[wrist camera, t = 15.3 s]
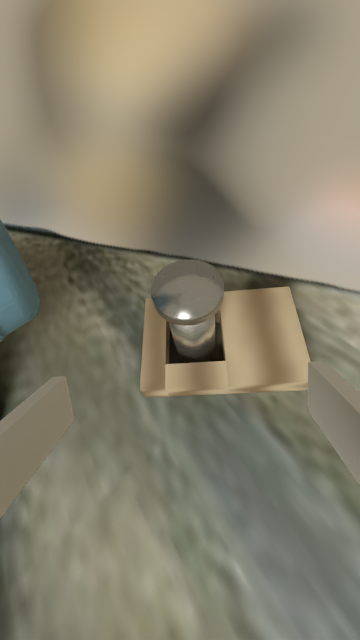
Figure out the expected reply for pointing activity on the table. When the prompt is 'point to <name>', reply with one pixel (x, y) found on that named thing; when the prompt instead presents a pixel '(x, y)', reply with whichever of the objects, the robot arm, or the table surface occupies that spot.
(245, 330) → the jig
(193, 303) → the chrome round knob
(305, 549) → the table surface
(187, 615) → the table surface
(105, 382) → the table surface
